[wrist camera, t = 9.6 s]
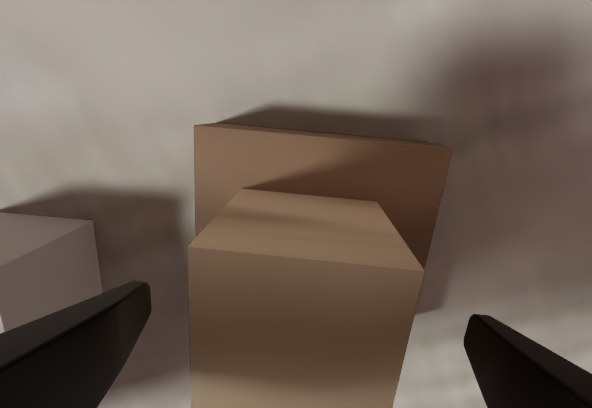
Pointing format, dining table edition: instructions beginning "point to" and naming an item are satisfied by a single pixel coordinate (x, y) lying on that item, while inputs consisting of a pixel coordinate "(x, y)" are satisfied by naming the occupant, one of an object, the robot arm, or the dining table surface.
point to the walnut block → (322, 173)
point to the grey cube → (45, 266)
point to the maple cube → (299, 304)
